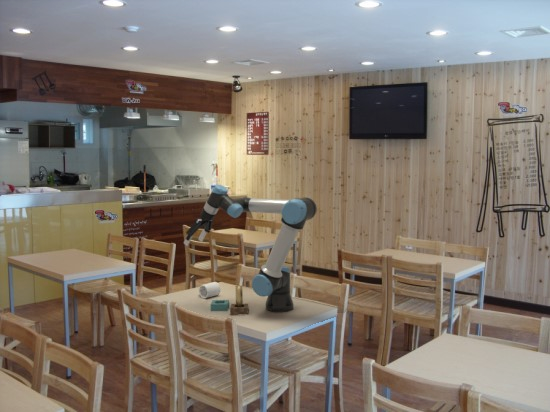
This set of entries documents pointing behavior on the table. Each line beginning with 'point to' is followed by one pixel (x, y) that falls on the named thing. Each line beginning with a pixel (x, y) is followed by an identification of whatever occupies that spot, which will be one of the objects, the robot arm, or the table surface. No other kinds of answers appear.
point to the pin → (239, 296)
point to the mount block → (239, 309)
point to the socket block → (219, 305)
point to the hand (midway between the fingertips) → (192, 242)
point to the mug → (209, 290)
